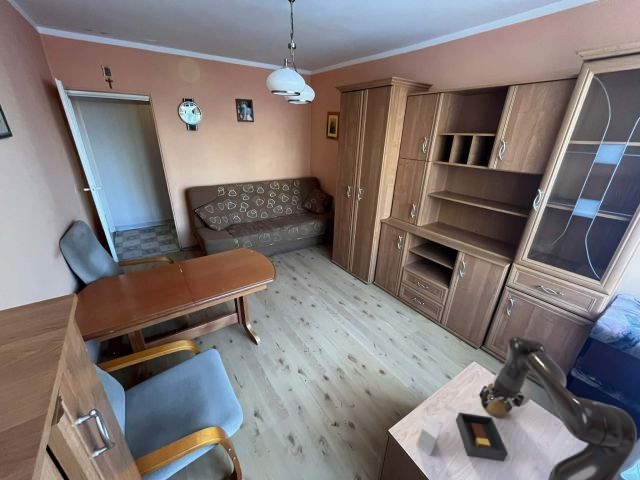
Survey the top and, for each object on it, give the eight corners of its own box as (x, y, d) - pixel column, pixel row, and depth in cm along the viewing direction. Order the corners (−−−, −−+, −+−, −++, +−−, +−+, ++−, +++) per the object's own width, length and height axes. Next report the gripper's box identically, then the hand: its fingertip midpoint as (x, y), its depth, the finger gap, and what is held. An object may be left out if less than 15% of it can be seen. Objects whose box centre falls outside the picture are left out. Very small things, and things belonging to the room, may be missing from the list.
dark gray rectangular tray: (503, 461, 111) (508, 453, 108) (467, 455, 112) (471, 447, 110) (487, 424, 124) (491, 417, 121) (455, 420, 125) (459, 412, 123)
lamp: (522, 423, 125) (544, 389, 114) (498, 430, 122) (518, 396, 111) (495, 393, 138) (513, 360, 127) (473, 399, 135) (489, 365, 124)
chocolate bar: (489, 452, 113) (491, 448, 111) (478, 451, 113) (480, 447, 112) (479, 428, 122) (481, 424, 120) (469, 426, 122) (471, 422, 121)
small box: (421, 430, 120) (428, 413, 115) (436, 440, 117) (443, 423, 111) (415, 445, 115) (421, 428, 109) (430, 457, 111) (437, 439, 105)
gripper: (494, 387, 96) (480, 414, 103) (535, 393, 94) (519, 420, 101) (485, 369, 102) (472, 396, 109) (524, 375, 101) (508, 401, 108)
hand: (495, 408), depth 105 cm, fingers open, 8 cm apart
